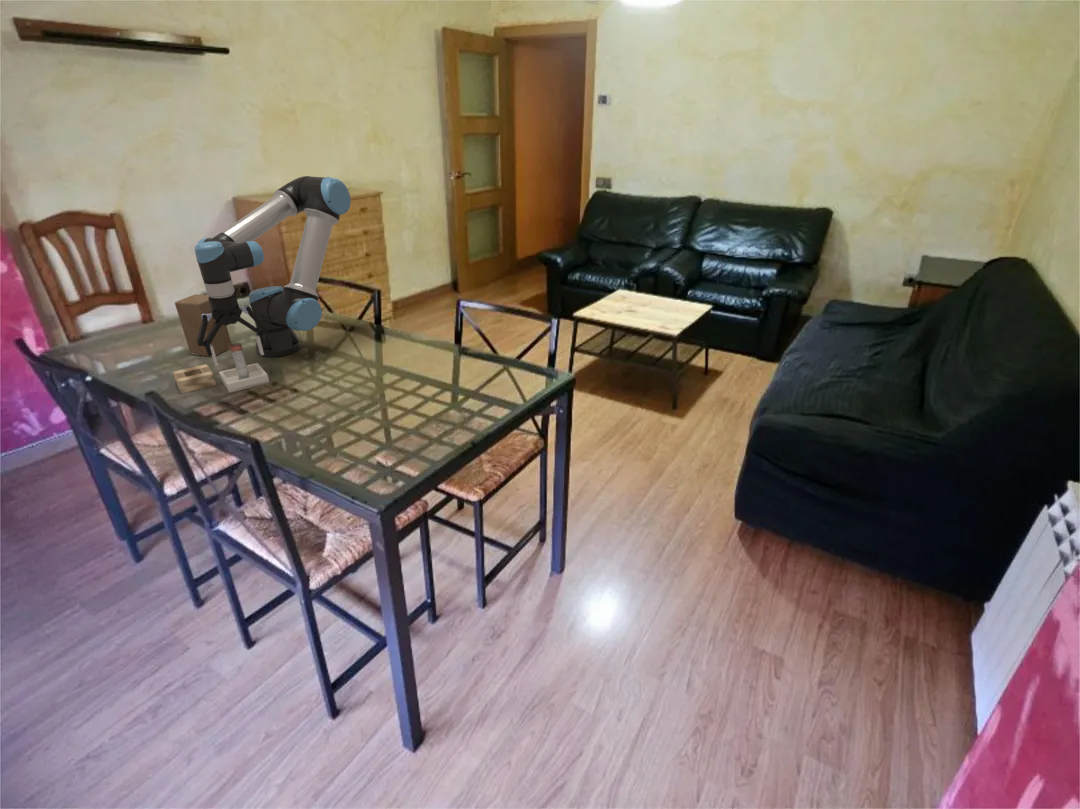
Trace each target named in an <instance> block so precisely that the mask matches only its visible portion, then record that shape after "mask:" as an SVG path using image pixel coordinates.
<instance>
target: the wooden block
mask: <svg viewBox="0 0 1080 809" xmlns="http://www.w3.org/2000/svg"><path fill="white" fill-rule="evenodd" d="M208 298H209V296H208V295H207V294H191V295H189V296H187V297H185V298H182V299H180V300H177V301H175V302H174V305H175V308H176V311H177V316H178V319H179V321H180V324H181V328H182V331H183V333H184V337H185V340H186V343H187V347H188V350H189V353H190V354H191V353H194V354H198V355H197V356H199V355H202V356H201V357H212V356H208V354H207V352H206V349H205V346H199V345H198V344H197V338H198V334H199V330H200V326H201V322H202V318H201V314H202V313H205V314H211V313H212V309H211V306H210V303H209V299H208ZM215 321H216V320H215V319H214V318H213V317H212V318H210V321H208V325H207V329H206V333H205V337H204V341H205V339H206V337H207V335H208V334H209V332H210V330H211V329H212V327H213V325H214V322H215ZM211 344H212V346H213V348H214V352H215V355H216V357H217V356H219V355H220V354H222V353H224V352H226V351H228V350H229V349H230V345H232V344H233V343H232V340H231V336H230V334H229V330H228V325H226V326H225V325H222V326H221V328H219V330H218V332H217V333H216V335H215V337H214V339H213V340H212V342H211ZM230 350H231V349H230Z"/></svg>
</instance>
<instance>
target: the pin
mask: <svg viewBox="0 0 1080 809" xmlns="http://www.w3.org/2000/svg"><path fill="white" fill-rule="evenodd" d="M231 344H232V345H230V353H231V355H232V356H231V357H232V358H233V363H234V366H235V368H236V370H237V374H238V377H239V380H242V379H246V378H250V376H249V373H248V369H247V365H248V364H247V363H246V362H247V361H246V358H245V354H244V351H243V346H242V344H241V343H239V342H237V343H231Z"/></svg>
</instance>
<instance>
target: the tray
mask: <svg viewBox="0 0 1080 809" xmlns="http://www.w3.org/2000/svg"><path fill="white" fill-rule="evenodd" d="M246 365H247V369H248V373H249V376H250V378H246V379H242V380H239V377H238V374H237V370H236V367H235V368H229V369H226V370H222V371H219V372H218V374H219V378H220V381H221V383H222V384H223V386H224V387H225V388H226V391H228V393H229V394H231V393H232V394H233V393H235V392H239V391H242V390H246V389H251V388H255V387H258V386H263V385H267V384H270V380H269V374H268V373H267V372H266V371H265V370H264V369H263V367H262V366H260V364H259V363H258V362H256V363H253V364H252V363H250V364H246Z"/></svg>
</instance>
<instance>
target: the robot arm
mask: <svg viewBox="0 0 1080 809" xmlns="http://www.w3.org/2000/svg"><path fill="white" fill-rule="evenodd" d="M351 201H352V200H351V193H350V192H349V189H348V187H347V185H346V184H345V183H344V182H343V181H341V180H340V179H338V178H336V177H335V178H333V177H332V176H331V177H330V176H324V177H323V176H309V175H305V176H300V177H298V178H295V179H292V180H291V181H289V182H287V183H286V184H284V185H283V186H281V187H280V188H278V189H276V190H275V191H274V192H273V196H272V197H271V198H269V199H268V200H267V201H265V202H263V203H261V205H259V206H258V207H256V208H254V209H252V211H250V212H249V213H247V214H246V215H245V216H243V217H242V218H240V219H238V220H237V221H236V222H234V223H233V224H232V225H230V226H228V227H227V228H225V229H224V230H222V231H221V232H220V233H218V234H217V235H215V236H213V237H212V238H211V237H207V238H205V237H204V238H201V239H200V240H199V241H198V242H197V244H196V245H195V246H194V254H195V258H196V262H197V264H198V268H199V271H200V275H201V278H202V281H203V285H204V288H205V291H206V295H208V296H209V298H208V299H209V303H210V306H211V309H212V313H211V314H205V313H202V314H201V318H202V322H201V326H200V330H199V334H198V338H197V344H198V345H199V346H205V349H206V352H207V354H208V356H207V357H210V356H212V360H213V364H214V366H216V367H218V366H219V362H218V359H217V356H216V355H215V352H214V348H213V346H212V344H211V342H212V340H213V339H214V337H215V335H216V333H217V332H218V330H219V328H221V326H222V325H225V326H230V325H235V324H237V323H238V322H239V323H240V324H242V325H243V326H245V327H247V328H248V329H250V330H251V331H252V332H254V333H255V334H254V337H255V340H256V341H255V350H256V354H257V355H258V356H261V357H264V358H265V357H266V358H276V357H284V356H288V355H291V354H294V353H297V351H299V350H301V348H302V345H301V342H300V339H299V337H298V335H297V334H296V333H295V332H296V331H298V332H299V331H300V332H307V331H310V330H312V329H314V328H315V327H316V326H317V325H319V323H320V322H321V319H322V316H323V315H322V314H323V310H322V307H321V304H320V303H319V298H320V295H319V294H318V292H317V286H318V284H319V279H320V275H321V271H322V268H323V263H324V260H325V257H326V252H327V249H328V244H329V241H330V237H331V233H332V231H333V230H332V229H333V226H335V225H337V224H338V223H339V221H340V216H341V215H344V214H346V213H347V212H348V211H349V209H351V208H350V207H351V203H352V202H351ZM303 212H304V213H305V215H306V220H305V223H304V226H303V231H302V236H301V239H300V242H299V247H298V249H297V253H296V258H295V262H294V266H293V270H292V274H291V277H290V280H289V283H288V284H286V285H284V286H283V287H282V285H281V286H279V285H275V286H273V285H272V286H266V287H262V288H257V289H254V290H252V291H251V292H249V294H248V299H249V300H248V301H249V302H248V303H249V305H250V306H249V305H248V304H246V305H244V306H243V307H240V306H239V302H238V298H237V294H235V287H234V284H233V280H232V275H231V273H233V272H236V271H241V270H244V269H249V268H254V267H256V266H259V265H261V264H263V262H264V260H265V255H264V250H263V248H262V246H261V245H260V244H259V243H258V242H257V241H256V240H257V239H259V238H260V237H261V236H263V235H264V234H265V233H267V232H269V230H271V229H273V228H274V227H275V226H277V225H278V224H280V223H281V222H283V221H284V220H286V219H287V218H288V217H296V216H297V215H298V214H299V213H303ZM242 313H245V314H246V315H248V316H249V317H250V318H251V319H252V320H253V322H254V324H255V325H253V324H251V323H250V322H248V321H247V320H245V319H244V318H242V317H241V316H242ZM212 317H213V318H214V319H215V320H216V321H215V322H214V325H213V327H212V329H211V330H210V332H209V334H208V335H207V337H206V339H205V341H204V337H205V333H206V329H207V325H208V321H210V318H212Z"/></svg>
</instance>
